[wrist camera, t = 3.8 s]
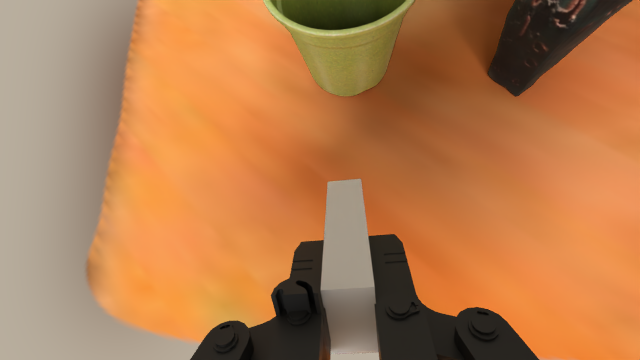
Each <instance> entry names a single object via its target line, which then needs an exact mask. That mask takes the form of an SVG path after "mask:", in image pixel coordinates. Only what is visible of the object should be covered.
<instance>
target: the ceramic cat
mask: <svg viewBox="0 0 640 360" xmlns="http://www.w3.org/2000/svg"><path fill="white" fill-rule="evenodd" d="M631 1H632V0H515V2H514V4H513V6H512V7H511V9H510V11H509V13H508V15H507V18H506V21H505V25H504V28H503V31H502V33H501V37H500V40H499V44H498V47H497V51H496V53H495V56H494V58H493V61H492V63H491V65H490V68H489V71H488V75H489V76H490V78H491V79H493V80H494V81H495V82H497V83H498V84H500V85H502V86H504V87H506V88H507V90H508V91H510V92H511V93H512V94H513V95H514V96H519V95H520V94H521V93H522V92H523V91H525V90H526V89H528V88H529V87H531V86H532V85H533V84H534V83H535V82H536V80H537V79H538V78H539V77H540V76H541V75H543V74H544V73H545V72H546V71H548V70H549V69H550V68H552V67H553V66H554V65H556V64H557V63H558V62H559V61H560V60H561V59H562V58H564V57H565V56H566V55H567V54H568V53H569V52H570V51H572V50H573V49H574V48H575V47H576V46H577V45H578V44H580V43H581V42H582V41H583V40H584V39H586V38H587V37H588V36H589V35H590V34H591V33H593V32H594V31H595V30H596V29H597V28H598V27H599V26H601V25H602V24H603V23H604V22H605V21H606V20H607V19H609V18H610V17H611V16H613V15H614V14H615V13H616V12H618V11H619V10H620V9H622V8H623V7H624V6H626V5H627V4H628V3H630V2H631Z"/></svg>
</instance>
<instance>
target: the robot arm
mask: <svg viewBox="0 0 640 360" xmlns="http://www.w3.org/2000/svg"><path fill="white" fill-rule="evenodd" d="M271 298H272V301H273V305H274V309H275V312H276V317H274V318H273V319H271V320H270V321H267V322H265V323H263V324H260V325H257V326H254V327H251V328H248V327H247V326H246V325H245V324H244V323H242V322H240V321H227V322H224V323H221V324H219V325H218V326H216V327H215V328H213V329H212V330H211V331H210V332H209V333H208V334H207V336H206V337H205V338H204V340H203V341H202V343H201V344H200V346H199V347H198V349H197V350H196V352H195V353H194V355H193V356H192V358H191V359H190V360H330V351H331V353H332V354H346V353H369V352H370V353H373V352H379V359H380V360H539V359H538V358H537V357H536V355H535V354H534V353H533V352H532V351H531V350H530V348H529V347H528V346H527V345H526V344H525V342H524V341H523V340H522V339H521V338H520V337H519V335H518V334H517V333H516V332H515V331H514V330H513V328H512V327H511V326H510V325H509V324H508V322H507V321H505V320H504V319H503V318H502V317H501V316H500V315H499V314H497V313H495V312H493V311H490V310H488V309H484V308H479V307H475V308H467V309H465V310H463V311H461V312H460V313H459V314H458V316H457V317H455V316H450V315H446V314H441V313H438V312H435V311H433V310H431V309H429V308H427V307H426V306H425V305H424V304H422V303H421V301H420V300H419V299H418V297H417V295H416V292H415V288H414V284H413V281H412V277H411V273H410V269H409V266H408V263H407V258H406V254H405V251H404V247H403V243H402V242H401V241H400V240H399V239H398V237H397V236H396V235H395V234H390V235H376V236H368V231H367V223H366V215H365V207H364V199H363V191H362V183H361V179H352V180H341V181H331V182H328V187H327V202H326V217H325V231H324V240H321V241H308V242H301V243H300V245H299V246H298V247H297V249H296V250H295V252H294V258H293V263H292V268H291V274H290V279H287V280H285V281H283V282H281V283H280V284H279V285H278V286H277V287H276V288H274V290H273V292H272V294H271Z"/></svg>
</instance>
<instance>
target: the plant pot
mask: <svg viewBox="0 0 640 360" xmlns="http://www.w3.org/2000/svg"><path fill="white" fill-rule="evenodd" d="M263 1H264V3H265V5H266V7H267V9H268V10H269V12H270V13H271V14H272V15H273V16H274V17H275V18H276V19H277V20H278V21H279V22H280V23H281V24H283V25H284V26H285V27H286V29H287V30H288V31H289V32H290V33H291V35H292V37H293V39H294V40H295V42H296V44H297V46H298V48H299V50H300V52H301V54H302V56H303V58H304V60H305V62H306V64H307V66H308V68H309V70H310V73H311V75H312V77H313V78H314V80H315V81H316V82H317V84H318V85H319V86H320V87H321V88H322V89H324V90H325V91H327V92H329V93H332V94H335V95H339V96H354V95H358V94H360V93H361V92H363V91H366V90H367V89H370V88H372V87H374V86H376V85H377V84H378V83H379V82H380V81H381V79H382V78H383V76H384V75H385V73H386V70H387V67H388V64H389V61H390V58H391V54H392V51H393V48H394V45H395V41H396V38H397V35H398V32H399V29H400V26H401V23H402V19H403V17H404V16H405V14H406V12H407V11H408V9H409V7H410V6H411V5H412V4H413V3H414V2H415V0H263Z"/></svg>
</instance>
